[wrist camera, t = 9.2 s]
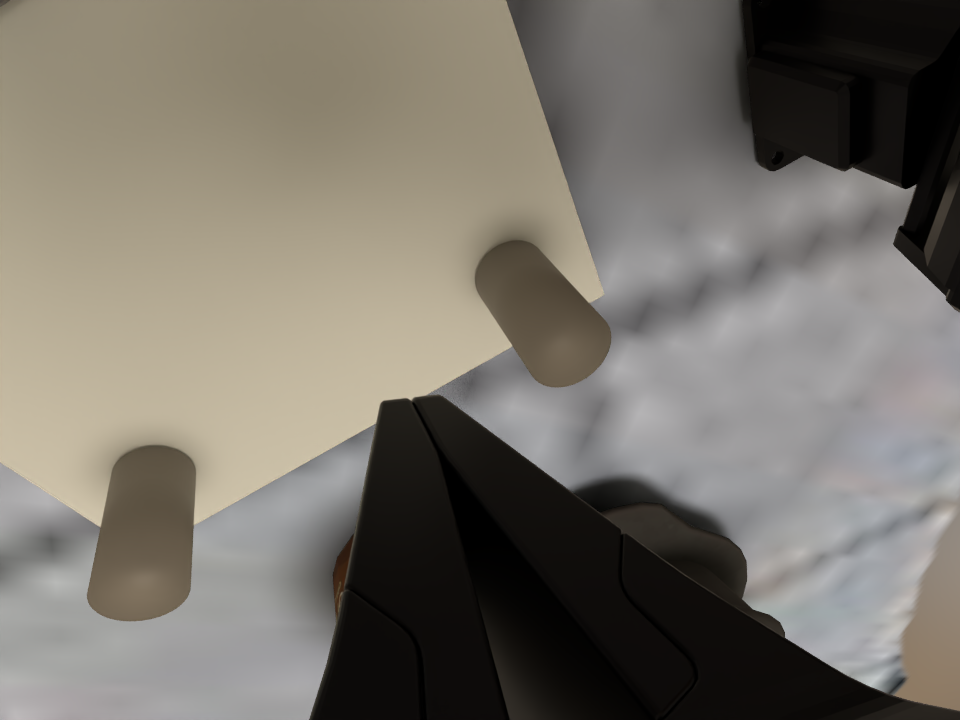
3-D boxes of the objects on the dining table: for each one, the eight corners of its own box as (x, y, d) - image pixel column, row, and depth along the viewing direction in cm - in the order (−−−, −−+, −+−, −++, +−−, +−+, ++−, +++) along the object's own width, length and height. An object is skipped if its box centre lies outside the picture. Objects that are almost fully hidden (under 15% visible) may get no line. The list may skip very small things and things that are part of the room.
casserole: (363, 602, 31) (400, 787, 24) (692, 413, 30) (818, 549, 24) (532, 740, 47) (582, 873, 40) (748, 616, 46) (833, 730, 40)
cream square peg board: (304, -501, 11) (367, -821, 6) (579, 268, 23) (676, 368, 18) (-579, -8, 11) (-1211, 58, 6) (147, 511, 23) (126, 677, 18)
